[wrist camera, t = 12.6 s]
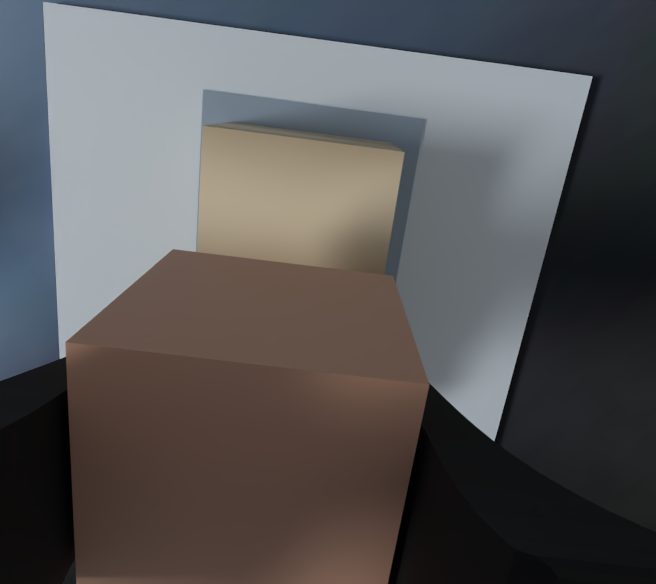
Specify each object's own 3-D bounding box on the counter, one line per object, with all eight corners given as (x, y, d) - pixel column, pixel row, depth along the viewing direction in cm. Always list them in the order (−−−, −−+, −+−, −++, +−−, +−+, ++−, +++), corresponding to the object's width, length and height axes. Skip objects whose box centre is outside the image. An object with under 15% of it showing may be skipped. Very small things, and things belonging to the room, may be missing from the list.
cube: (361, 459, 14) (374, 644, 9) (168, 437, 14) (77, 613, 9) (393, 276, 12) (429, 384, 7) (173, 249, 12) (65, 342, 7)
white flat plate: (482, 469, 23) (486, 477, 23) (67, 421, 23) (61, 428, 22) (587, 77, 18) (594, 76, 17) (49, 4, 17) (41, 1, 17)
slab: (350, 397, 21) (353, 458, 18) (214, 381, 21) (188, 440, 17) (390, 142, 18) (404, 152, 14) (230, 121, 18) (202, 125, 14)
